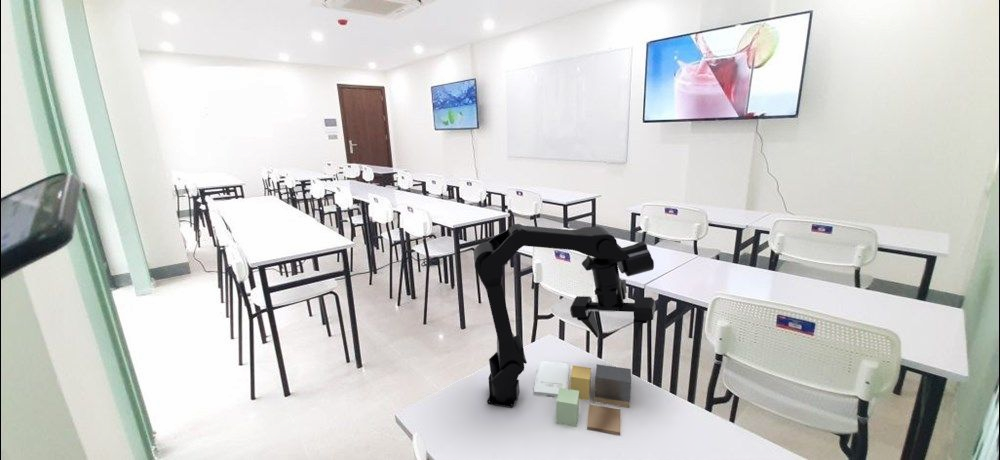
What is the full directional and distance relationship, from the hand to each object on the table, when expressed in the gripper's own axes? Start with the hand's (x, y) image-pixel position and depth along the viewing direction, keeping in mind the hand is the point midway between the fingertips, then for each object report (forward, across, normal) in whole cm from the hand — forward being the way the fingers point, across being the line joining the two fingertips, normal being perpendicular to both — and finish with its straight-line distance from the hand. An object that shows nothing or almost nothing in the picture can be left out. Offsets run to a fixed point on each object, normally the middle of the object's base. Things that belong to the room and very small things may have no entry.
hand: (617, 337), depth 98 cm
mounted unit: (+13, +2, +6) cm, 15 cm away
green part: (+11, +10, +16) cm, 22 cm away
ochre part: (+12, +9, +7) cm, 17 cm away
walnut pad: (+12, +2, +14) cm, 19 cm away
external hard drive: (+11, +17, +5) cm, 21 cm away
